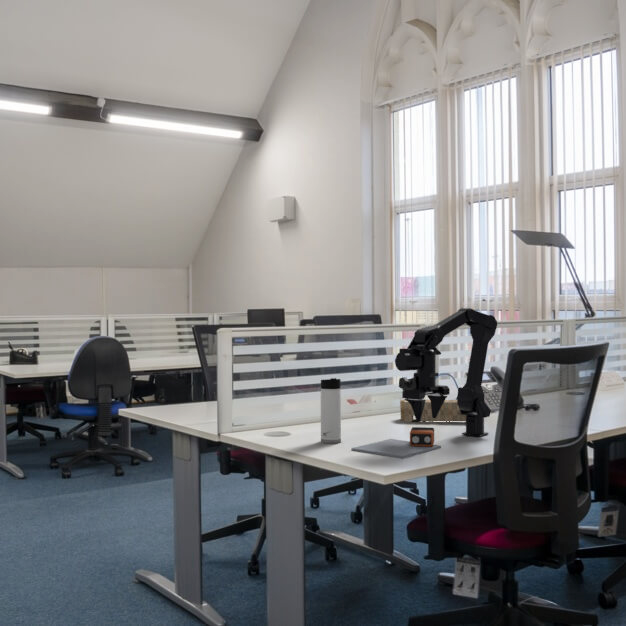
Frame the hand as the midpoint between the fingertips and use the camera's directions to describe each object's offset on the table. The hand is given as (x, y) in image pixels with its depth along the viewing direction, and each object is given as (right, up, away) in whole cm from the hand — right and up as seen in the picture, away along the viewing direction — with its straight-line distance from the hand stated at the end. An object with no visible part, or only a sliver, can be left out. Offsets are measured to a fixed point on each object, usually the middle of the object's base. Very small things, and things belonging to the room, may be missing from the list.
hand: (426, 419), depth 228 cm
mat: (-11, -7, -13) cm, 18 cm away
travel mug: (-30, -7, -1) cm, 30 cm away
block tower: (+11, -7, +41) cm, 44 cm away
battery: (-2, -4, -4) cm, 5 cm away
